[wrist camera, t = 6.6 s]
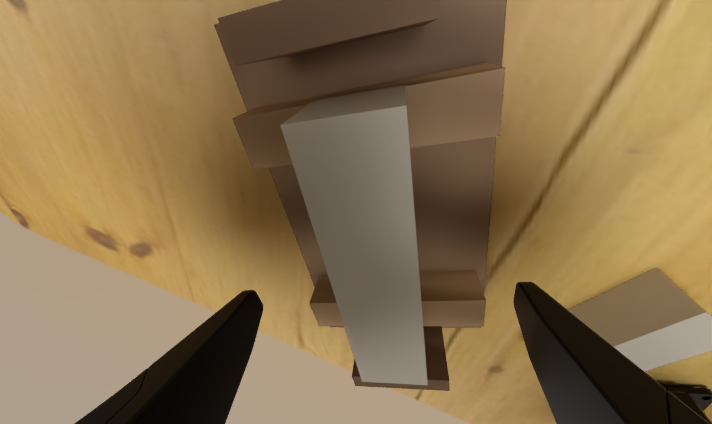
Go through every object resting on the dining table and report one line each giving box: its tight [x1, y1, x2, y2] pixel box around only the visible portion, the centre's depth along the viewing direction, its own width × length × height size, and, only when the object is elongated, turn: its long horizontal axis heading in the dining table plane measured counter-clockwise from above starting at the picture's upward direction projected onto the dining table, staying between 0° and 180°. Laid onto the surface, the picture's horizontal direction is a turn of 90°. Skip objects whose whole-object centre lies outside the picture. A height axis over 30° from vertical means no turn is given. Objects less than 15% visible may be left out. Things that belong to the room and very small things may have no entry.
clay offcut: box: [568, 268, 712, 371], centre depth 15 cm, size 3×8×3 cm, turn 145°
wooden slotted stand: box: [214, 0, 507, 391], centre depth 12 cm, size 18×10×5 cm, turn 11°
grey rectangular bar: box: [280, 85, 428, 385], centre depth 11 cm, size 12×3×3 cm, turn 10°
